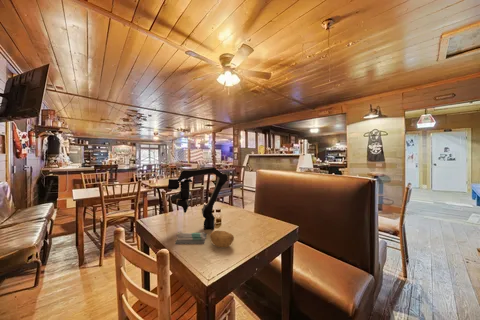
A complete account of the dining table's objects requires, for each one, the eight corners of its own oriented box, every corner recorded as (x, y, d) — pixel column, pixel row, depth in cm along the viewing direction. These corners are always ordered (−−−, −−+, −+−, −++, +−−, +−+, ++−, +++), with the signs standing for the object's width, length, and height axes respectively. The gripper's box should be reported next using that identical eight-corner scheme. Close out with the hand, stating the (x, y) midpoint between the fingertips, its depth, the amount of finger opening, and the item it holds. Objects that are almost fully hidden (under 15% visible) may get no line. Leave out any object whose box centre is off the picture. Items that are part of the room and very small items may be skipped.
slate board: (207, 235, 115) (207, 231, 115) (204, 244, 104) (204, 240, 104) (181, 235, 114) (181, 231, 114) (175, 244, 103) (175, 240, 103)
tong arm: (204, 235, 108) (204, 231, 108) (204, 237, 106) (204, 233, 106) (178, 235, 108) (178, 231, 108) (177, 237, 106) (177, 233, 106)
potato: (216, 239, 109) (216, 226, 109) (236, 245, 103) (237, 231, 102) (205, 247, 101) (205, 232, 100) (227, 253, 94) (227, 238, 94)
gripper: (176, 186, 129) (176, 208, 130) (168, 192, 111) (168, 217, 111) (192, 186, 130) (192, 208, 131) (186, 191, 112) (187, 217, 112)
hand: (185, 212), depth 121 cm, fingers closed
